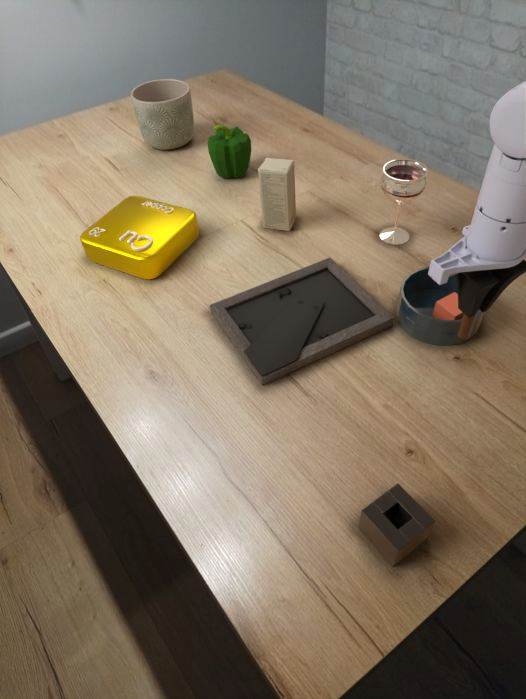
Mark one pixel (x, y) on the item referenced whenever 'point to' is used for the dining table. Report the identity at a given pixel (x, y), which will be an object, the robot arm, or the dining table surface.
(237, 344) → the picture frame
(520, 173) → the robot arm
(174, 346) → the dining table surface
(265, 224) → the box
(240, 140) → the bell pepper
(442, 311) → the block
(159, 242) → the element tile
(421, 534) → the stand
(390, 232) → the wineglass
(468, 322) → the brown cylindrical rod
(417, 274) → the bowl
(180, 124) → the planter
